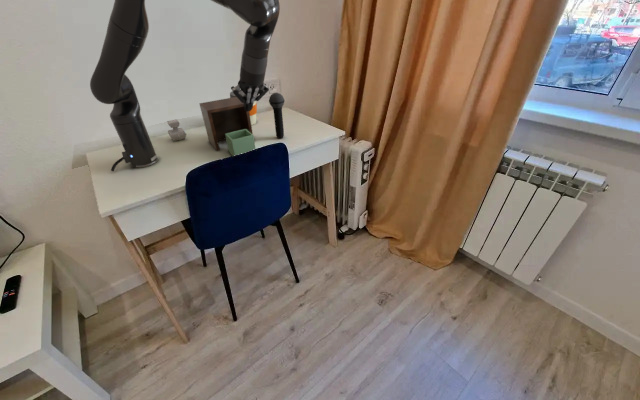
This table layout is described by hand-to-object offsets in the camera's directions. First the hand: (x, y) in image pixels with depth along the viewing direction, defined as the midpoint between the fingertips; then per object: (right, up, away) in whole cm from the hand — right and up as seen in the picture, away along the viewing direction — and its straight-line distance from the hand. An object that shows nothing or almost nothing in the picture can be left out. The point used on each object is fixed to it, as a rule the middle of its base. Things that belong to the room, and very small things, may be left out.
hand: (247, 109), depth 99 cm
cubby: (-14, -6, +27) cm, 31 cm away
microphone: (+7, -3, +30) cm, 31 cm away
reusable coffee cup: (-12, +8, +46) cm, 48 cm away
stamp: (-40, -4, +30) cm, 50 cm away
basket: (-7, -12, +19) cm, 23 cm away
